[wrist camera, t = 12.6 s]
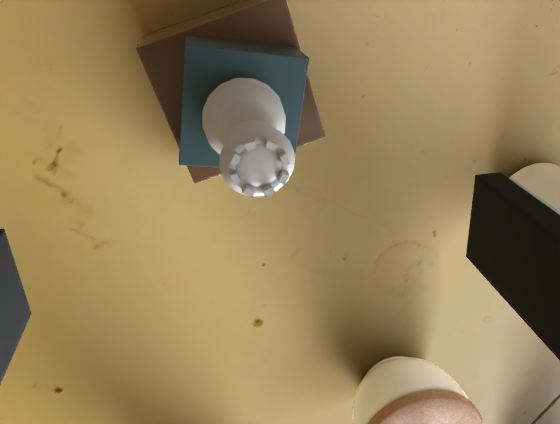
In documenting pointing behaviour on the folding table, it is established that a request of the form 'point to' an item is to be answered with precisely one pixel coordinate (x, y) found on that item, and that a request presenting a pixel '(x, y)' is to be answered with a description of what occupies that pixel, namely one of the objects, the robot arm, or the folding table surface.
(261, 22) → the base block
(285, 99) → the top block
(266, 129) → the rook chess piece
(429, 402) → the trinket box
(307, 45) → the folding table surface
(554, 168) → the can
